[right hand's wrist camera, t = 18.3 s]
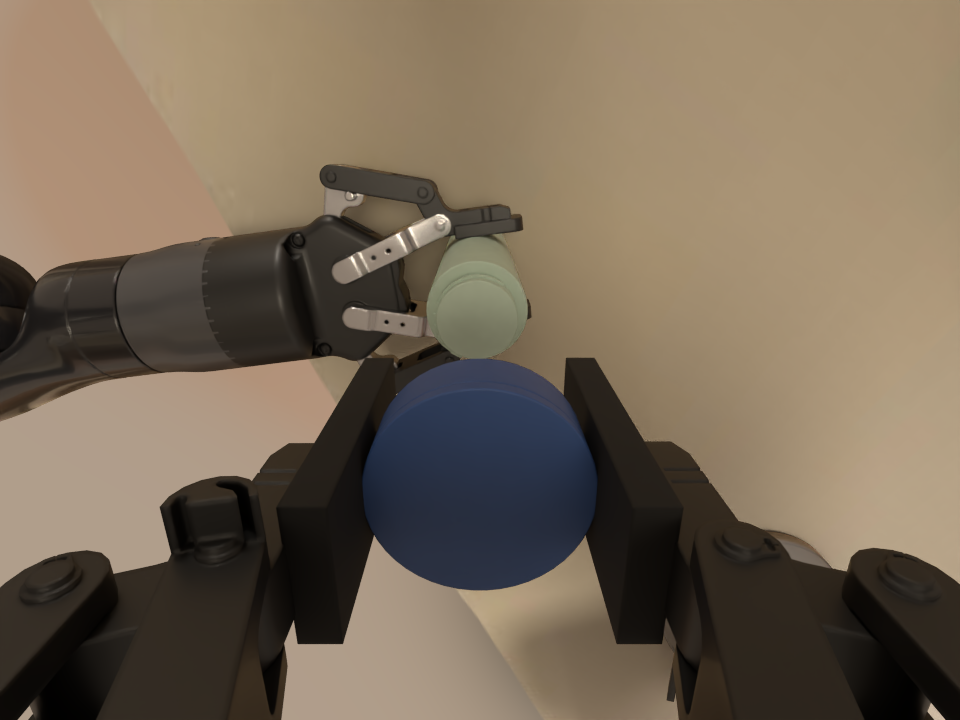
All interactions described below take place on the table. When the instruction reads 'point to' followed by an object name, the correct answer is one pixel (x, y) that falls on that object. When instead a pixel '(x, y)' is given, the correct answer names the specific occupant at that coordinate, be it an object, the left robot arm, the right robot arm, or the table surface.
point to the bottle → (477, 298)
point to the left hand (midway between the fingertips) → (524, 265)
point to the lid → (479, 476)
